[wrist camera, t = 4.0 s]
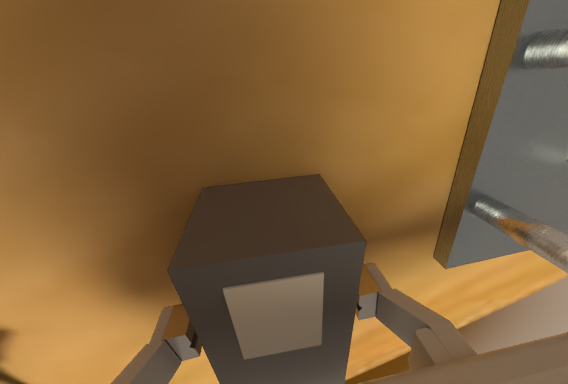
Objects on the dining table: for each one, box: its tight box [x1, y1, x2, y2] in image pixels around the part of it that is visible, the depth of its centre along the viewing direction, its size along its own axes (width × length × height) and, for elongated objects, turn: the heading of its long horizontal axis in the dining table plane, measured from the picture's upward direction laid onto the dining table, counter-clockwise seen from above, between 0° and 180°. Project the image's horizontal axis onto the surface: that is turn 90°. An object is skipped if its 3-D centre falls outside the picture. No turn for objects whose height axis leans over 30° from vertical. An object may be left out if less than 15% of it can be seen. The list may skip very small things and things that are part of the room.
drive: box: [167, 174, 366, 384], centre depth 10 cm, size 10×6×5 cm, turn 4°
